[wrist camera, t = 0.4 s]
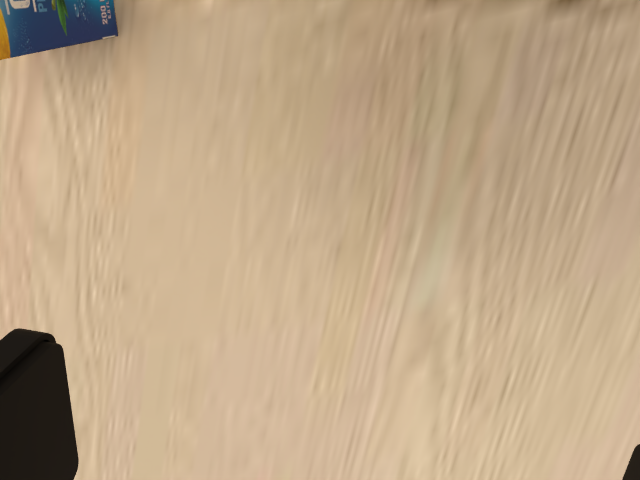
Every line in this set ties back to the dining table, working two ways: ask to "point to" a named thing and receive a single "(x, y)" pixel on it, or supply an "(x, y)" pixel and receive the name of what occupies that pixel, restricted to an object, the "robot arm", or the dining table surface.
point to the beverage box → (53, 24)
